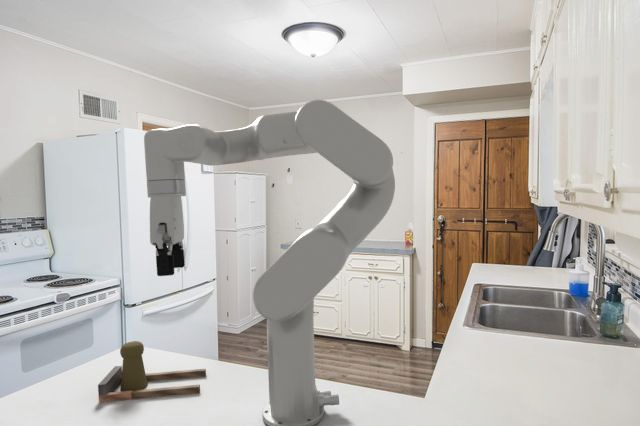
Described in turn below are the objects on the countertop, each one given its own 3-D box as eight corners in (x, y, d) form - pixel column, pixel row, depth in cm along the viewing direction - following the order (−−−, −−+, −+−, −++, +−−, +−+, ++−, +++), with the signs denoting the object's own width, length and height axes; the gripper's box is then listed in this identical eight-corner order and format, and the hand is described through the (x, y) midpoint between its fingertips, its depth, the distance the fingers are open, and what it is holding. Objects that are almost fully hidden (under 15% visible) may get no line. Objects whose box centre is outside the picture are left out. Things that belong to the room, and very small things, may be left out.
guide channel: (205, 374, 106) (205, 359, 106) (199, 393, 96) (198, 376, 95) (115, 382, 103) (114, 366, 103) (98, 402, 93) (97, 384, 93)
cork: (137, 394, 96) (135, 347, 96) (114, 393, 97) (112, 347, 97) (152, 382, 102) (150, 338, 102) (130, 381, 103) (128, 338, 103)
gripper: (159, 191, 94) (163, 266, 95) (134, 189, 77) (140, 280, 78) (193, 190, 95) (197, 263, 96) (175, 187, 78) (181, 277, 78)
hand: (171, 271), depth 87 cm, fingers open, 9 cm apart
